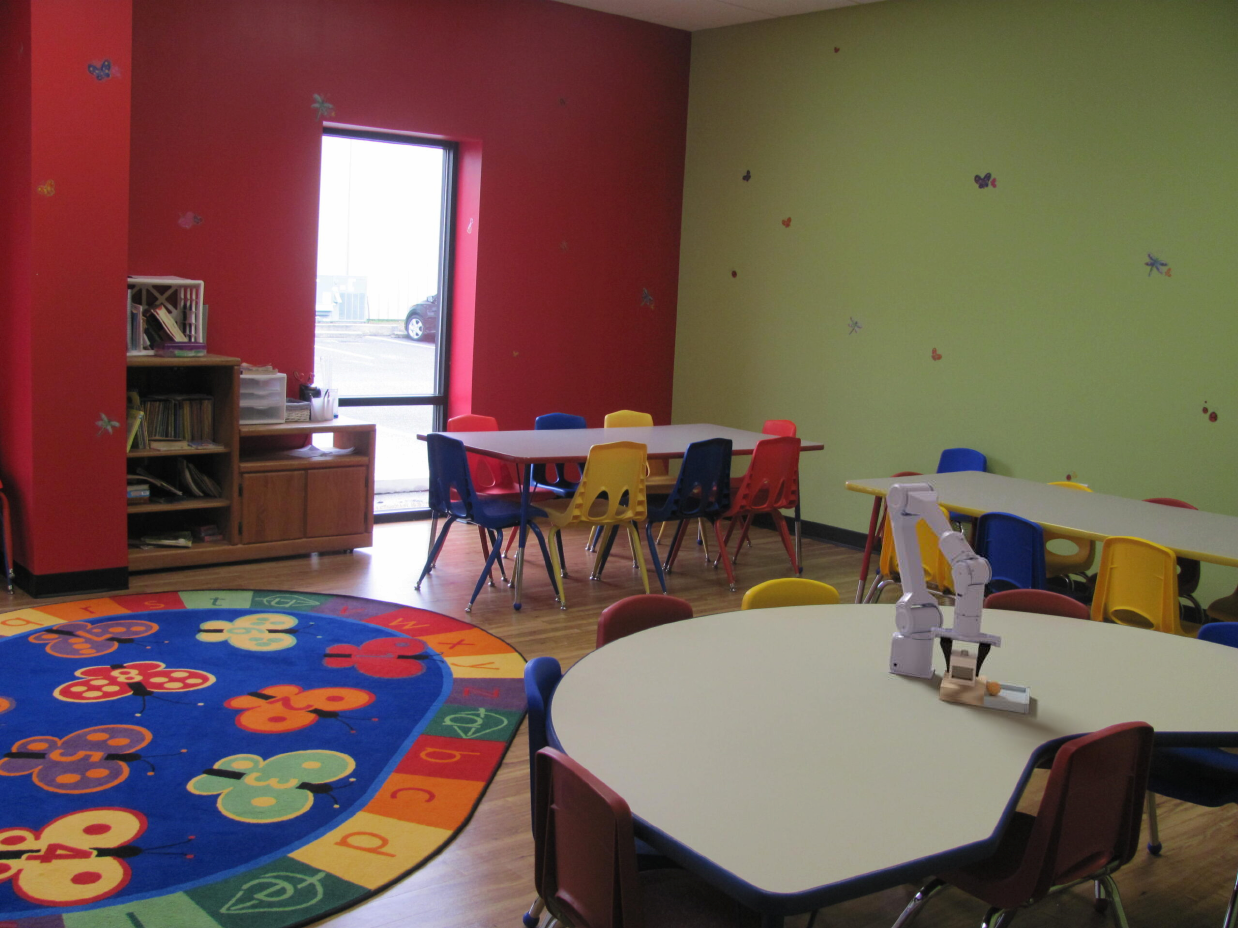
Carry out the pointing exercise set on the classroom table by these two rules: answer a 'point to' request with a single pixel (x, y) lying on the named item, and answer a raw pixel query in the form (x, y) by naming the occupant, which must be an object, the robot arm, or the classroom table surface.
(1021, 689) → the tray
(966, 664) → the small drawer with knob
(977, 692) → the board
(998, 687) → the ball
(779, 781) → the classroom table surface
